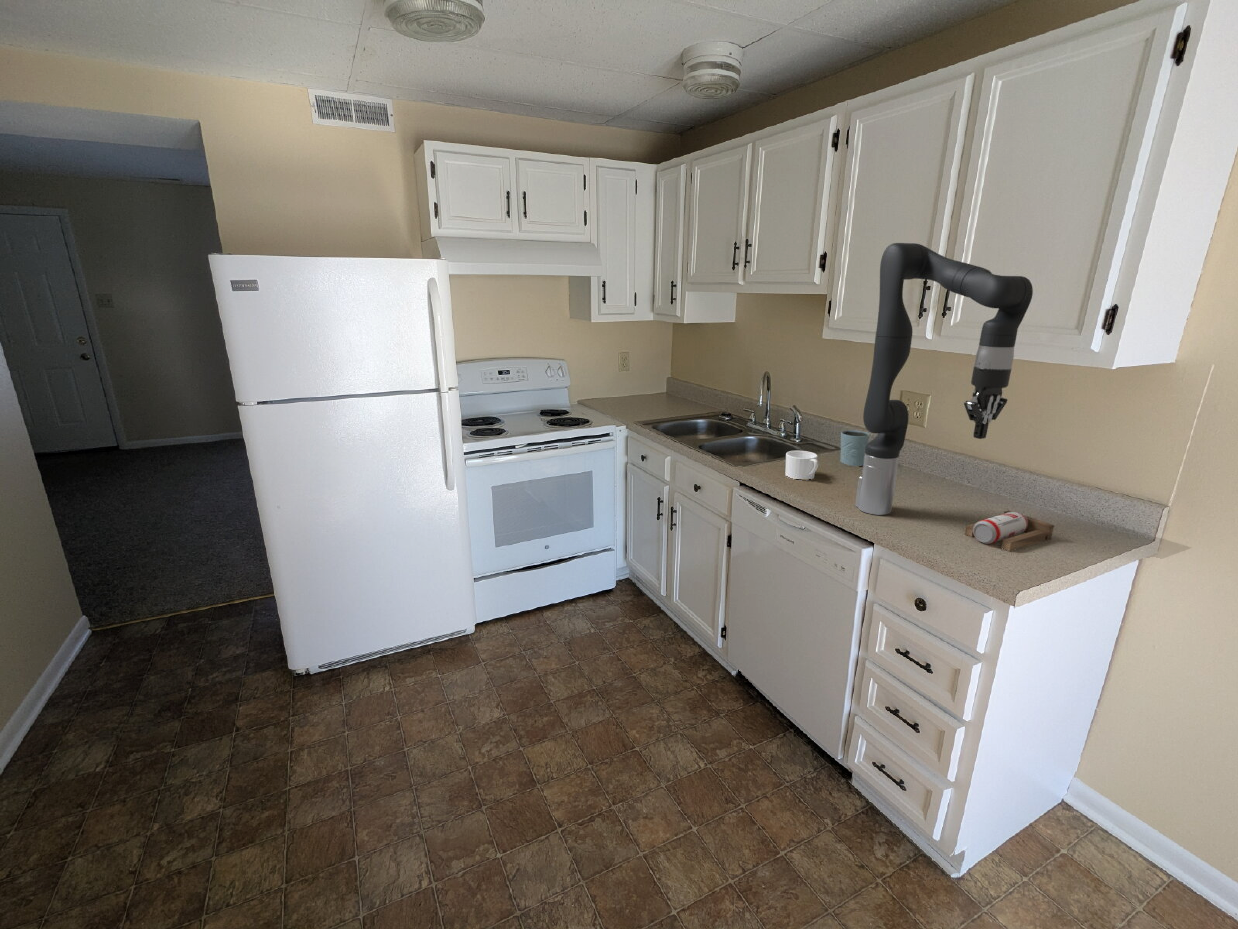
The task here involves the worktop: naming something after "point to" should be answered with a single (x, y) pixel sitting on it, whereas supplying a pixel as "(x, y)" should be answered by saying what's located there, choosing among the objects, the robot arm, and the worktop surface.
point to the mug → (801, 464)
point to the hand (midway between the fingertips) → (979, 437)
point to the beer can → (1000, 527)
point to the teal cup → (853, 447)
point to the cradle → (1033, 534)
